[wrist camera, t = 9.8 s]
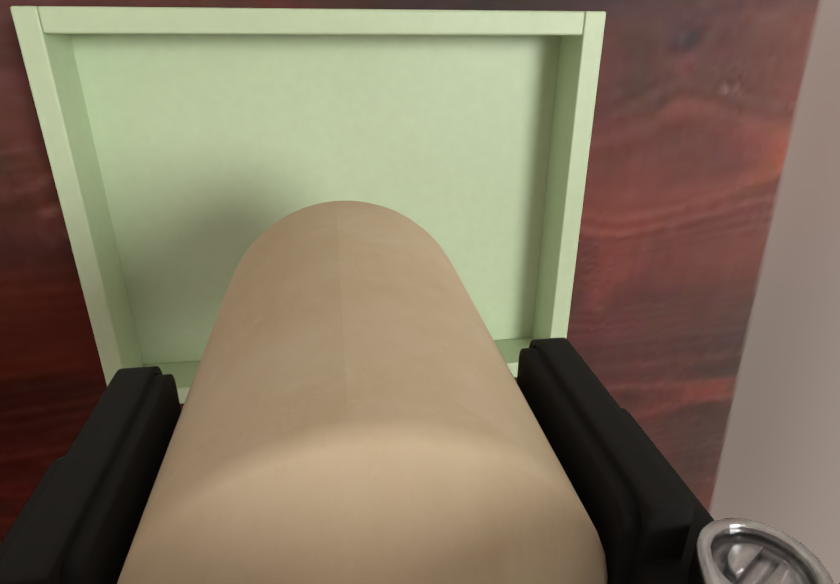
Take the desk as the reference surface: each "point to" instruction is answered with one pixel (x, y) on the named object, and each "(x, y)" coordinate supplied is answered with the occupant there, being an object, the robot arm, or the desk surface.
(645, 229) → the desk surface
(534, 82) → the tray
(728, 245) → the desk surface
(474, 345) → the candle
